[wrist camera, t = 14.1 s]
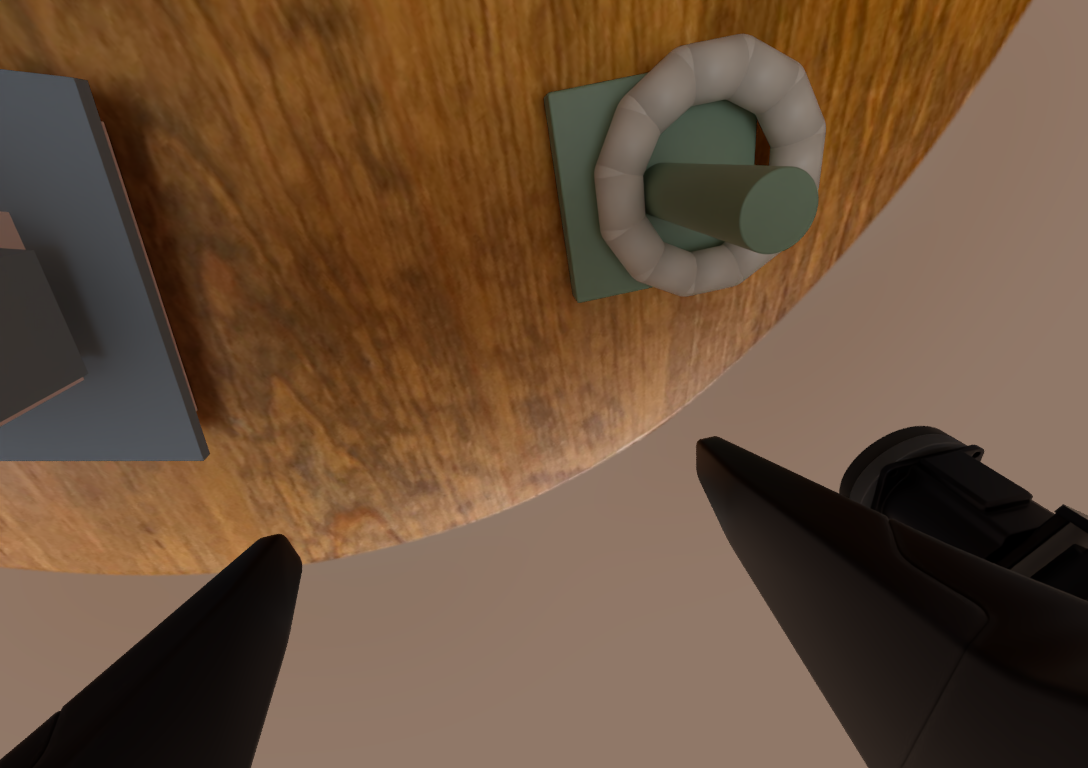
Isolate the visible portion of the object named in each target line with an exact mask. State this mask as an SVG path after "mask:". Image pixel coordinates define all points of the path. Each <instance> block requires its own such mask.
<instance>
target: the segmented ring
mask: <svg viewBox="0 0 1088 768" xmlns="http://www.w3.org/2000/svg"><path fill="white" fill-rule="evenodd" d="M725 99H726V100H728V101H730V102H732V103H734V104H736V105H738V106H740V107H742V108H744V109H746V110H748V111H750V112H752V113H754V114H755V115H756V117H757V119H758V122H759V124H760V126H761V128H762V130H763V132H764V134H765V136H766V139H767V141H768V143H769V145H770V158H769V166H793V167H798V168H801V169H803V170H804V171H806V172H807V173H808V174H809V175H810V176H811V177H812V178H813V180H814V182H815V184H816V186H817V190H818V188H819V181H820V173H821V165H822V157H823V149H824V141H825V133H826V124H825V120H824V118H823V115H822V113H821V110H820V108H819V105H818V102H817V100H816V97H815V95H814V92H813V90H812V87H811V85H810V82H809V80H808V77H807V75H806V72H805V70H804V68H803V67H802V66H801V64H800V63H798V62H797V61H795V60H794V59H792V58H790V57H788V56H786V55H785V54H783V53H781V52H779V51H778V50H776V49H774V48H772V47H771V46H769V45H767V44H765V43H764V42H762V41H760V40H758V39H756V38H755V37H753V36H751V35H747V34H737V35H732V36H727V37H722V38H717V39H712V40H707V41H702V42H697V43H692V44H687V45H683V46H680V47H677V48H675V49H674V50H672V51H671V52H670V53H669V54H668V55H667V56H666V57H664V58H663V59H662V60H661V61H660V62H659V63H658V64H657V65H656V66H655V67H654V68H653V69H652V70H651V71H650V72H649V73H648V74H647V75H646V76H645V77H644V78H643V79H641V80H640V81H639V82H638V83H637V84H636V85H635V86H634V87H633V88H632V89H631V90H630V91H629V92H628V93H627V94H626V95H625V96H624V97H623V98H622V99H621V101H620V102H619V104H618V106H617V108H616V111H615V113H614V116H613V119H612V122H611V125H610V127H609V130H608V133H607V136H606V138H605V141H604V144H603V147H602V149H601V152H600V155H599V158H598V160H597V163H596V166H595V171H594V179H595V188H596V197H597V207H598V216H599V225H600V232H601V235H602V237H603V239H604V240H605V242H606V243H607V245H608V246H609V247H610V249H611V250H612V251H613V253H614V254H615V255H616V257H617V258H618V259H619V261H620V262H621V263H622V265H623V266H624V267H625V269H626V270H627V271H628V273H629V274H630V275H631V276H632V278H634V279H635V280H636V281H639V282H641V283H644V284H647V285H650V286H652V287H655V288H658V289H661V290H664V291H667V292H670V293H673V294H675V295H678V296H692V295H696V294H701V293H706V292H710V291H715V290H720V289H724V288H729V287H733V286H736V285H738V284H740V283H741V282H743V281H744V280H745V279H747V278H748V277H749V276H751V275H752V274H753V273H754V272H756V271H757V270H758V269H760V268H761V267H762V266H763V265H765V264H766V263H767V262H769V261H770V260H771V259H772V258H774V257H775V256H776V255H778V254H779V253H780V252H779V253H775V254H760V253H756V252H753V251H751V250H748V249H745V248H742V247H739V246H736V245H733V244H731V243H728V242H724V243H723V244H722V245H720V246H716V247H711V248H707V249H702V250H697V251H693V252H688V251H686V250H683V249H681V248H678V247H675V246H673V245H670V244H668V243H665V242H663V241H662V239H661V238H660V236H659V235H658V233H657V232H656V230H655V229H654V227H653V226H652V224H651V223H650V221H649V220H648V218H647V217H646V215H645V199H644V182H643V175H644V172H645V170H646V167H647V165H648V163H649V160H650V158H651V155H652V153H653V150H654V148H655V146H656V143H657V141H658V138H659V136H660V134H661V133H662V132H663V131H665V130H666V129H667V128H668V127H669V126H670V125H671V124H672V123H673V122H674V121H676V120H677V119H678V118H679V117H680V116H681V115H682V114H683V113H684V112H685V111H687V110H688V109H689V108H690V107H691V106H696V105H701V104H705V103H710V102H715V101H720V100H725Z"/></svg>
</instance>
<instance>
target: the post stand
mask: <svg viewBox="0 0 1088 768" xmlns="http://www.w3.org/2000/svg"><path fill="white" fill-rule="evenodd" d="M647 74H648V73H644V74H639V75H634V76H629V77H624V78H619V79H614V80H609V81H604V82H599V83H594V84H589V85H584V86H579V87H574V88H569V89H564V90H559V91H554V92H550V93H548V94H547V95H546V96H545V97H544V104H545V111H546V117H547V124H548V131H549V137H550V144H551V151H552V158H553V164H554V171H555V178H556V185H557V191H558V198H559V205H560V212H561V218H562V225H563V232H564V238H565V245H566V252H567V259H568V265H569V272H570V279H571V286H572V292H573V296H574V298H575V299H576V301H577V302H578V303H581V302H586V301H591V300H595V299H600V298H605V297H609V296H614V295H619V294H623V293H628V292H633V291H637V290H642V289H647V288H651V287H652V286H650V285H647V284H644V283H641V282H639V281H636V280H635V279H634V278H632V276H631V275H630V274H629V273H628V271H627V270H626V269H625V267H624V266H623V265H622V263H621V262H620V261H619V259H618V258H617V257H616V255H615V254H614V253H613V251H612V250H611V249H610V247H609V246H608V245H607V243H606V242H605V240H604V239H603V237H602V235H601V232H600V225H599V216H598V207H597V197H596V188H595V179H594V171H595V166H596V163H597V160H598V158H599V155H600V152H601V149H602V147H603V144H604V141H605V138H606V136H607V133H608V130H609V127H610V125H611V122H612V119H613V116H614V113H615V111H616V108H617V106H618V104H619V102H620V101H621V99H622V98H623V97H624V96H625V95H626V94H627V93H628V92H629V91H630V90H631V89H632V88H633V87H634V86H635V85H636V84H637V83H638V82H639V81H640V80H641V79H643V78H644V77H645V76H646V75H647ZM756 125H757V117H756V115H755V114H754V113H752V112H750V111H748V110H746V109H744V108H742V107H740V106H738V105H736V104H734V103H732V102H730V101H728V100H726V99H725V100H720V101H715V102H710V103H705V104H701V105H696V106H691V107H690V108H689V109H688V110H687V111H685V112H684V113H683V114H682V115H681V116H680V117H679V118H678V119H677V120H676V121H674V122H673V123H672V124H671V125H670V126H669V127H668V128H667V129H666V130H665V131H663V132H662V133H661V134H660V136H659V138H658V141H657V143H656V146H655V148H654V150H653V153H652V155H651V158H650V160H649V163H648V165H647V167H646V170H645V172H644V175H643V182H644V199H645V215H646V217H647V218H648V220H649V221H650V223H651V224H652V226H653V227H654V229H655V230H656V232H657V233H658V235H659V236H660V238H661V239H662V241H663V242H665V243H668V244H670V245H673V246H675V247H678V248H681V249H683V250H686V251H688V252H693V251H697V250H702V249H707V248H711V247H716V246H720V245H722V244H723V243H724V242H728V243H731V244H733V245H736V246H739V247H742V248H745V249H748V250H751V251H753V252H756V253H760V254H775V253H779V252H781V251H784V250H786V249H788V248H790V247H791V246H793V245H794V244H795V243H797V242H798V241H799V240H800V239H801V238H802V237H803V236H804V234H805V233H806V232H807V231H808V229H809V228H810V226H811V224H812V222H813V220H814V218H815V215H816V212H817V207H818V190H817V186H816V184H815V182H814V180H813V178H812V177H811V176H810V175H809V174H808V173H807V172H806V171H804V170H803V169H801V168H798V167H793V166H763V165H754V160H755V142H756Z"/></svg>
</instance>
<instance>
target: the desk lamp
mask: <svg viewBox="0 0 1088 768" xmlns="http://www.w3.org/2000/svg"><path fill="white" fill-rule="evenodd" d="M196 411H197V407H196V404H195V401H194V398H193V395H192V392H191V388H190V385H189V382H188V379H187V376H186V373H185V370H184V367H183V364H182V361H181V358H180V355H179V352H178V349H177V345H176V342H175V339H174V336H173V333H172V330H171V327H170V324H169V321H168V318H167V315H166V312H165V309H164V305H163V302H162V299H161V296H160V293H159V290H158V287H157V284H156V281H155V278H154V275H153V272H152V269H151V266H150V262H149V259H148V256H147V253H146V250H145V247H144V244H143V241H142V238H141V235H140V232H139V229H138V226H137V223H136V219H135V216H134V213H133V210H132V207H131V204H130V201H129V198H128V195H127V192H126V189H125V186H124V183H123V180H122V176H121V173H120V170H119V167H118V164H117V161H116V158H115V155H114V152H113V149H112V146H111V143H110V140H109V137H108V133H107V130H106V127H105V124H104V122H101V120H100V117H99V114H98V111H97V108H96V105H95V102H94V99H93V96H92V93H91V90H90V87H89V84H88V81H87V80H82V79H77V78H71V77H63V76H54V75H46V74H37V73H29V72H20V71H12V70H3V69H0V461H204V460H205V459H206V458H207V457H208V455H209V454H210V453H209V450H208V447H207V443H206V440H205V437H204V434H203V431H202V428H201V425H200V422H199V419H198V416H197V413H196Z"/></svg>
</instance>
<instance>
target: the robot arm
mask: <svg viewBox="0 0 1088 768" xmlns="http://www.w3.org/2000/svg"><path fill="white" fill-rule="evenodd" d="M983 454H984V449H982V448H980V447H979V446H977V445H970V446H965V447H961V448H956V449H952V450H947V451H943V452H939V453H934V454H930V455H925V456H921V457H917V458H912V459H908V460H903V461H899V462H895V463H890V464H887V465H886V466H884V467H883V468H882V469H881V471H880V475H879V479H878V482H877V486H876V490H875V494H874V497H873V501H872V505H871V508H868V507H866V506H864V505H862V504H860V503H858V502H856V501H854V500H851V499H849V498H847V497H845V496H843V495H841V494H839V493H837V492H834V491H832V490H830V489H828V488H826V487H824V486H822V485H820V484H817V483H815V482H813V481H811V480H809V479H807V478H804V477H803V476H800V475H798V474H796V473H794V472H792V471H790V470H787V469H786V468H783V467H781V466H779V465H777V464H775V463H773V462H771V461H768V460H766V459H764V458H762V457H760V456H758V455H756V454H754V453H752V452H749V451H747V450H745V449H743V448H741V447H739V446H737V445H735V444H732V443H730V442H728V441H726V440H724V439H722V438H720V437H717V436H714V437H709V438H704V439H700V440H699V441H698V442H697V445H696V456H697V457H696V470H697V475H698V478H699V480H700V483H701V485H702V487H703V489H704V491H705V493H706V495H707V497H708V499H709V502H710V504H711V506H712V508H713V510H714V512H715V514H716V516H717V518H718V520H719V522H720V525H721V527H722V529H723V531H724V533H725V535H726V537H727V539H728V541H729V543H730V545H731V546H732V548H733V550H734V551H735V553H736V555H737V556H738V558H739V560H740V561H741V563H742V564H743V566H744V568H745V569H746V571H747V572H748V574H749V576H750V577H751V579H752V580H753V582H754V584H755V585H756V587H757V589H758V590H759V592H760V593H761V595H762V597H763V598H764V600H765V601H766V603H767V605H768V606H769V608H770V610H771V611H772V613H773V614H774V616H775V618H776V619H777V621H778V623H779V624H780V626H781V627H782V629H783V631H784V632H785V634H786V635H787V637H788V639H789V640H790V642H791V644H792V645H793V647H794V648H795V650H796V652H797V653H798V655H799V656H800V658H801V660H802V661H803V663H804V664H805V666H806V668H807V669H808V671H809V672H810V674H811V676H812V677H813V679H814V681H815V682H816V684H817V685H818V687H819V689H820V690H821V692H822V693H823V695H824V697H825V698H826V700H827V701H828V703H829V705H830V707H831V708H832V710H833V711H834V713H835V715H836V716H837V718H838V719H839V721H840V722H841V724H842V726H843V727H844V729H845V731H846V732H847V734H848V736H849V737H850V739H851V740H852V742H853V744H854V745H855V747H856V749H857V750H858V752H859V753H860V755H861V756H862V758H863V760H864V761H865V763H866V764H867V766H868V768H1088V516H1087V515H1085V514H1083V513H1081V512H1079V511H1077V510H1074V509H1072V508H1070V507H1068V506H1066V505H1064V504H1063V505H1062V506H1061V507H1059V508H1058V509H1057V510H1056V511H1055V512H1056V514H1054V513H1052V512H1050V511H1049V510H1047V509H1046V508H1044V507H1042V506H1041V505H1039V504H1038V503H1036V502H1034V501H1032V497H1033V496H1032V494H1030V493H1029V492H1028V491H1026V490H1025V489H1023V488H1022V487H1020V486H1018V485H1017V484H1015V483H1014V482H1012V481H1010V480H1009V479H1007V478H1005V477H1004V476H1002V475H1000V474H999V473H997V472H996V471H994V470H992V469H991V468H989V467H988V466H986V465H984V464H983V463H981V462H980V461H981V458H982V456H983ZM301 573H302V562H301V559H300V557H299V555H298V554H297V552H296V551H295V549H294V548H293V547H292V545H291V544H290V542H289V541H288V539H287V538H286V537H285V536H284V535H282V534H276V535H271V536H267V537H263V538H260V539H259V540H257V541H256V542H255V543H254V544H253V545H251V546H250V547H249V548H248V549H247V550H246V551H244V552H243V553H242V554H241V555H240V556H239V557H237V558H236V559H235V560H234V561H233V562H232V563H230V564H229V565H228V566H227V567H226V568H225V569H223V570H222V571H221V572H220V573H219V574H218V575H216V576H215V577H214V578H213V579H212V580H211V581H209V582H208V583H207V584H206V585H205V586H204V587H203V588H201V589H200V590H199V591H198V592H197V593H195V594H194V595H193V596H192V597H191V598H190V599H188V600H187V601H186V602H185V603H184V604H182V605H181V606H180V607H179V608H178V609H177V610H175V611H174V612H173V613H172V614H171V615H170V616H168V617H167V618H166V619H165V620H164V621H163V622H162V623H160V624H159V625H158V626H157V627H156V628H154V629H153V630H152V631H151V632H150V633H149V634H147V635H146V636H145V637H144V638H143V639H142V640H140V641H139V642H138V643H137V644H136V645H134V646H133V647H132V648H131V649H130V650H129V651H128V652H126V654H124V655H123V656H122V657H121V658H119V659H118V660H117V661H116V662H115V663H114V664H112V665H111V666H110V667H109V668H108V669H106V670H105V671H104V672H103V673H102V674H101V675H99V676H98V677H97V678H96V679H95V680H94V681H92V682H91V683H90V684H89V685H88V686H87V687H85V688H84V689H83V690H82V691H81V692H80V693H78V694H77V695H76V696H75V697H74V698H73V699H71V700H70V701H69V702H68V703H67V704H65V705H64V706H63V708H62V709H61V711H58V712H56V713H55V714H54V715H52V716H51V717H50V718H49V719H48V720H47V721H46V722H44V723H43V724H42V725H41V726H40V727H38V728H37V729H36V730H35V731H34V732H33V733H31V734H30V735H29V736H28V737H27V738H25V740H23V741H22V742H21V743H20V744H18V745H17V746H16V747H15V748H14V749H12V751H10V752H9V753H8V754H6V755H5V756H4V757H3V758H2V759H1V760H0V768H251V765H252V762H253V758H254V755H255V752H256V748H257V745H258V742H259V738H260V735H261V732H262V728H263V725H264V722H265V718H266V715H267V711H268V708H269V705H270V701H271V698H272V695H273V691H274V688H275V684H276V681H277V678H278V674H279V671H280V668H281V665H282V661H283V658H284V654H285V651H286V647H287V643H288V639H289V634H290V630H291V625H292V620H293V614H294V609H295V604H296V599H297V594H298V589H299V583H300V579H301Z"/></svg>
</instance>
